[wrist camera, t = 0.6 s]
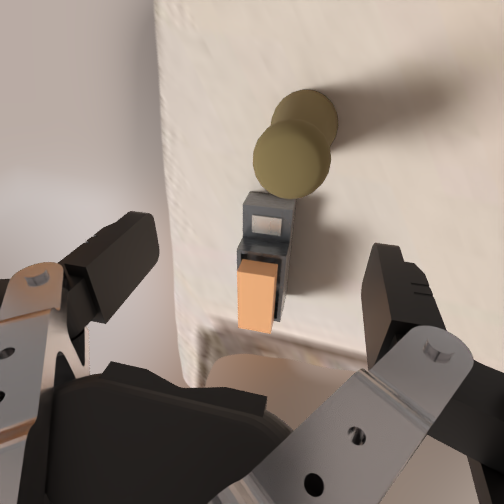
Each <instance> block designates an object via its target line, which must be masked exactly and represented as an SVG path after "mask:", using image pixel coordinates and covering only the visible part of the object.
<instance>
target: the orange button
mask: <svg viewBox="0 0 504 504" xmlns="http://www.w3.org/2000/svg"><path fill="white" fill-rule="evenodd" d="M277 271H278V264H272V263H265V262H259V261H252V260H246V259H242V261H241V264H240V266H239V268H238V271H237V287H238V328H243V329H248V330H254V331H259V332H264V333H269V334H271V330H272V325H273V321H274V309H275V297H276V284H277Z"/></svg>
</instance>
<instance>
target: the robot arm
mask: <svg viewBox="0 0 504 504" xmlns="http://www.w3.org/2000/svg"><path fill="white" fill-rule="evenodd" d="M158 257H159V244H158V238H157V233H156V227H155V222H154V218H153V216H152V215H151V214H149V213H142V212H135V211H130V212H128V213H127V214H126V215H124V216H123V217H122V218H120V219H119V220H118V221H117V222H115V223H113V224H111V225H108V226H106V227H104V228H102V229H101V230H100V231H98V232H97V233H96V234H95V235H94V237H91V238H89V239H88V240H87V241H86V243H83V244H82V245H80V246H79V247H78V248H77V249H75V250H74V251H73V252H71V253H70V254H69V255H67V256H66V257H65V258H64V259H62V260H61V261H60V262H58V263H54V262H43V263H38V264H34V265H31V266H28V267H26V268H24V269H22V270H20V271H18V272H17V273H16V274H14V275H13V276H12V278H11V279H0V504H379V503H380V502H381V501H382V499H383V498H384V496H385V495H386V493H387V492H388V490H389V489H390V487H391V486H392V484H393V483H394V482H395V480H396V479H397V477H398V476H399V474H400V473H401V471H402V470H403V469H404V467H405V466H406V464H407V463H408V461H409V460H410V458H411V457H412V456H413V454H414V453H415V451H416V450H417V448H418V447H419V445H420V444H421V443H422V441H423V440H424V438H425V437H426V435H429V436H431V437H433V438H435V439H436V440H438V441H440V442H442V443H444V444H446V445H448V446H450V447H452V448H454V449H455V450H457V451H459V452H461V453H463V454H465V455H467V458H468V462H469V465H470V469H471V473H472V477H473V481H474V485H475V489H476V492H477V496H478V500H479V504H504V373H503V372H500V371H498V370H495V369H493V368H490V367H488V366H485V365H483V364H481V363H479V362H477V361H475V360H473V356H472V353H471V351H470V350H469V348H468V347H467V346H466V345H465V344H464V343H463V342H462V341H461V340H460V339H459V338H457V337H456V336H455V335H453V334H451V333H449V332H448V331H447V330H446V328H445V325H444V322H443V320H442V317H441V315H440V312H439V309H438V307H437V304H436V302H435V299H434V297H433V294H432V291H431V289H430V287H429V284H428V281H427V278H426V276H425V274H424V273H423V272H422V271H421V270H420V269H419V268H418V267H417V266H416V265H415V264H414V263H409V262H404V260H403V256H402V253H401V250H400V247H399V246H395V245H388V244H380V243H374V245H373V247H372V250H371V253H370V257H369V260H368V264H367V268H366V271H365V275H364V278H363V282H362V289H361V300H362V311H363V321H364V331H365V342H366V352H367V362H368V372H367V371H366V370H364V369H360V370H358V371H357V372H356V373H354V374H353V375H352V376H351V377H350V378H349V379H348V380H347V381H346V382H345V383H344V384H343V385H342V386H341V387H340V388H339V389H338V390H337V391H335V392H334V393H333V394H332V395H331V396H330V397H329V398H328V399H327V400H326V401H325V402H324V403H323V404H322V405H321V406H320V407H319V408H318V409H317V410H315V411H314V412H313V413H312V414H311V415H310V416H309V417H308V418H307V419H306V420H305V421H304V422H303V423H302V424H301V425H300V426H299V427H298V428H296V429H295V430H294V431H293V430H292V428H291V427H289V426H288V425H287V424H286V423H285V422H284V421H283V420H281V419H280V418H278V417H277V416H276V415H274V414H272V413H271V412H269V411H267V410H266V404H267V396H263V395H258V394H253V393H249V392H245V391H240V390H236V389H232V388H227V387H215V388H214V387H213V388H181V387H178V386H176V385H174V384H172V383H170V382H169V381H167V380H165V379H163V378H161V377H160V376H158V375H156V374H154V373H152V372H151V371H149V370H147V369H143V368H139V367H134V366H130V365H125V364H121V363H117V362H112V361H111V362H110V363H109V365H108V366H107V368H106V369H105V370H104V372H103V373H102V374H94V375H90V367H89V366H90V365H89V364H90V361H89V331H88V328H87V325H88V323H89V322H90V321H94V322H99V323H104V324H106V323H107V322H108V321H109V319H110V318H111V317H112V316H113V315H114V313H115V312H116V311H117V310H118V309H119V307H120V306H121V305H122V304H123V303H124V301H125V300H126V299H127V298H128V297H129V295H130V294H131V293H132V292H133V291H134V289H135V288H136V287H137V286H138V285H139V283H140V282H141V281H142V280H143V279H144V277H145V276H146V275H147V274H148V273H149V271H150V270H151V269H152V268H153V267H154V265H155V264H156V263H157V261H158Z"/></svg>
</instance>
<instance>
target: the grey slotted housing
mask: <svg viewBox="0 0 504 504" xmlns="http://www.w3.org/2000/svg"><path fill="white" fill-rule="evenodd" d="M295 206H296V199H285V198H280V197H277V196H275V195H273V194H265V193H256V192H249V194H248V196H247V198H246V200H245V201H244V203H243V238H242V240H241V242H240V244H239V246H238V248H237V271H238V268H239V266H240V264H241V261H242V259H246V260H252V261H259V262H265V263H272V264H278V271H277V284H276V297H275V309H274V321H277V322H280V320H281V315H282V311H283V307H284V303H285V298H286V291H287V281H288V272H289V262H290V253H291V244H292V234H293V225H294V215H295Z"/></svg>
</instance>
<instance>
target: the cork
mask: <svg viewBox="0 0 504 504" xmlns="http://www.w3.org/2000/svg"><path fill="white" fill-rule="evenodd" d="M337 129H338V117H337V112H336V110H335V108H334V106H333V104H332V102H331V101H330V100H329V99H328V98H327V97H326V96H325V95H323V94H321V93H319V92H317V91H314V90H300V91H296V92H292V93H291V94H289V95H288V96H286V97H285V98H283V100H282V101H281V102H280V103H279V105H278V106H277V107H276V109H275V112H274V114H273V117H272V121H271V126H270V127H268V128H267V129H266V130H265V132H264V133H263V134H262V135H261V137H260V138H259V139H258V141H257V143H256V146H255V149H254V152H253V167H254V171H255V175H256V177H257V179H258V181H259V182H260V184H261V185H262V187H264V188H265V189H266V190H267V191H268V192H269V193H271V194H273V195H275V196H277V197H280V198H285V199H297V198H303V197H305V196H307V195H309V194H311V193H313V192H314V191H315V190H316V189H317V188H318V187H319V186H320V185H321V184H322V183H323V181H324V180H325V178H326V176H327V174H328V173H329V168H330V163H331V154H330V146H331V144H332V142H333V140H334V138H335V137H336V133H337Z"/></svg>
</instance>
